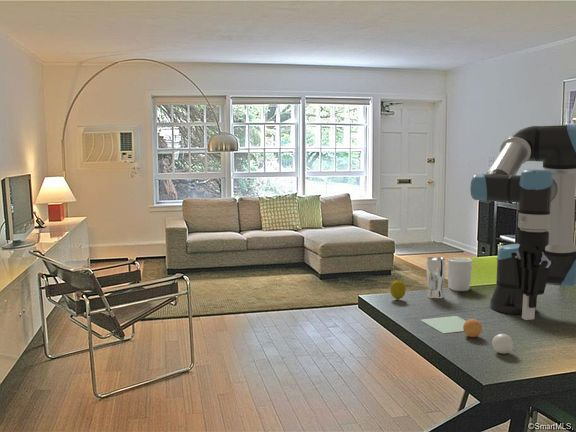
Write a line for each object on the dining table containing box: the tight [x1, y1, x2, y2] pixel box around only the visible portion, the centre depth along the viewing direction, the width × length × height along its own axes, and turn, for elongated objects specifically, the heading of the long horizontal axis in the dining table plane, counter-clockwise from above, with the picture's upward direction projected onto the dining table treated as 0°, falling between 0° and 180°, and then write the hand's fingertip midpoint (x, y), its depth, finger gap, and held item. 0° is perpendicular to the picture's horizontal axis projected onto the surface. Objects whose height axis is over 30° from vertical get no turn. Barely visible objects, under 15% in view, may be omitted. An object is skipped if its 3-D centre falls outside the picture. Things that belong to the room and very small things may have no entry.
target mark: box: [419, 315, 467, 335], centre depth 182 cm, size 14×14×1 cm
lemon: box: [390, 279, 406, 301], centre depth 210 cm, size 6×6×8 cm
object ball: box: [463, 318, 483, 338], centre depth 170 cm, size 6×6×6 cm
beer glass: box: [426, 256, 446, 300], centre depth 214 cm, size 7×7×15 cm
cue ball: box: [492, 333, 514, 355], centre depth 157 cm, size 6×6×6 cm
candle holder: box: [447, 256, 474, 292], centre depth 227 cm, size 10×10×12 cm
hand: (528, 318), depth 146 cm, fingers closed
